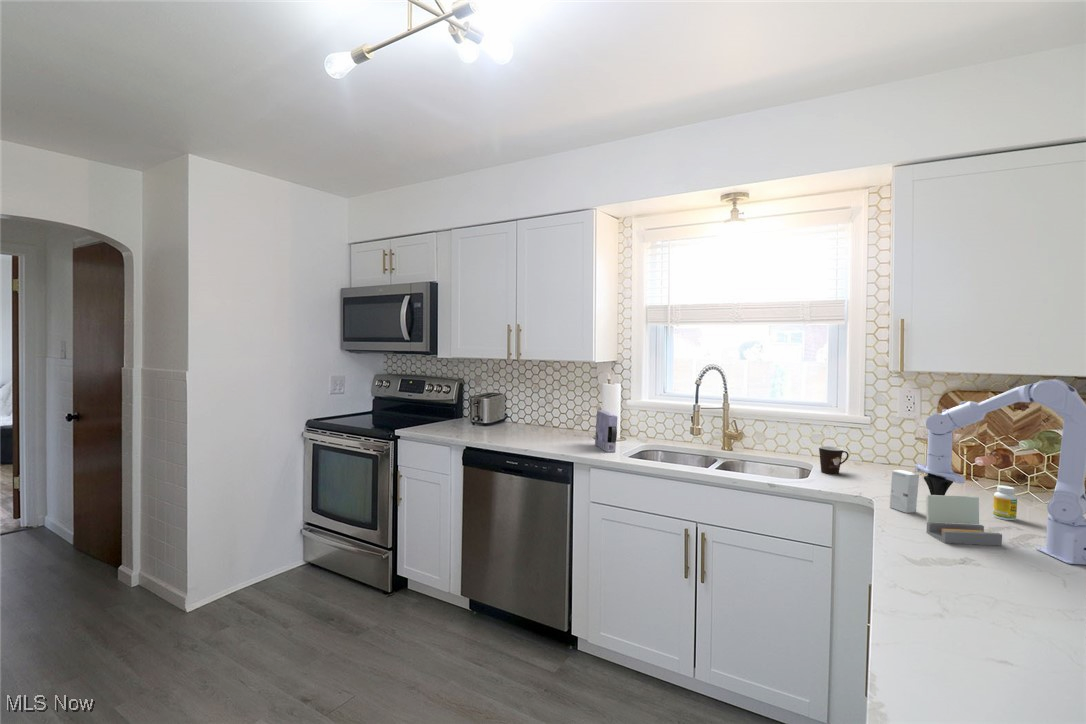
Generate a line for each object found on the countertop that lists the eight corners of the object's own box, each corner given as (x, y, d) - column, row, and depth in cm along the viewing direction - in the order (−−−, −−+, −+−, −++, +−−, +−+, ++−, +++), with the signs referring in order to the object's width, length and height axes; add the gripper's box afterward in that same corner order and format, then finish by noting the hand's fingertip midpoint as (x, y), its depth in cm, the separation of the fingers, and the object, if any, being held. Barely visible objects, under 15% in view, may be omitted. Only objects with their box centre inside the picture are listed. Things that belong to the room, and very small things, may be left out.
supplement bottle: (996, 514, 164) (997, 483, 163) (1018, 519, 159) (1020, 487, 159) (990, 517, 161) (991, 486, 160) (1012, 522, 156) (1014, 490, 156)
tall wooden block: (985, 538, 140) (985, 532, 140) (945, 536, 141) (945, 530, 141) (980, 536, 142) (980, 530, 142) (941, 534, 142) (941, 528, 142)
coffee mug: (820, 474, 212) (821, 449, 211) (816, 469, 220) (816, 445, 219) (853, 476, 208) (854, 451, 208) (847, 471, 216) (848, 447, 216)
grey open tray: (1001, 545, 137) (1002, 534, 137) (944, 543, 138) (945, 531, 138) (980, 535, 144) (980, 524, 144) (926, 532, 146) (926, 522, 146)
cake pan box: (617, 453, 245) (618, 415, 244) (607, 453, 244) (608, 415, 243) (604, 445, 264) (604, 410, 263) (594, 445, 263) (595, 410, 262)
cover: (978, 497, 145) (976, 496, 146) (928, 495, 146) (926, 494, 147) (979, 524, 144) (977, 523, 145) (928, 522, 145) (926, 521, 146)
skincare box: (888, 507, 169) (890, 470, 168) (899, 506, 170) (900, 469, 169) (907, 513, 163) (908, 474, 162) (917, 512, 164) (919, 473, 164)
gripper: (975, 460, 145) (972, 509, 145) (930, 449, 159) (928, 494, 160) (952, 460, 144) (950, 509, 144) (909, 450, 158) (907, 494, 159)
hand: (937, 501), depth 152 cm, fingers closed
